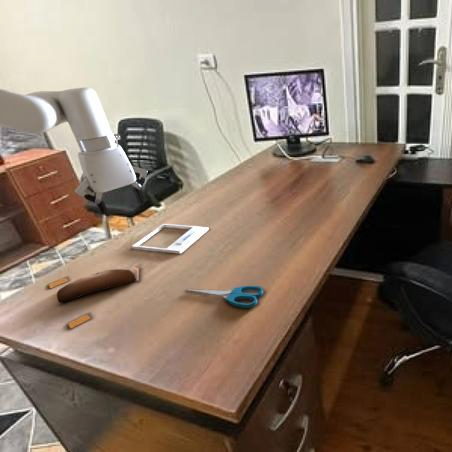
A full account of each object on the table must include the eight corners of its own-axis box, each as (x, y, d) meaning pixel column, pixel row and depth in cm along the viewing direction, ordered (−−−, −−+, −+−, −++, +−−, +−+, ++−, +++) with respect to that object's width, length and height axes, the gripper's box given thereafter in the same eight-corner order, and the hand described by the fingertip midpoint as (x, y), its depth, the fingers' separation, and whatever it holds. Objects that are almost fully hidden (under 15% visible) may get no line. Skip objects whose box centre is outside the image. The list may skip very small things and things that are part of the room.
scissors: (252, 305, 80) (178, 297, 85) (253, 308, 80) (179, 300, 86) (264, 286, 86) (194, 280, 91) (265, 290, 86) (195, 283, 91)
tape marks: (70, 328, 80) (70, 328, 80) (48, 285, 96) (48, 284, 96) (90, 319, 82) (89, 318, 82) (65, 278, 98) (65, 277, 98)
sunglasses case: (139, 265, 100) (131, 254, 94) (142, 287, 97) (134, 277, 91) (66, 285, 94) (53, 275, 88) (67, 309, 91) (54, 300, 85)
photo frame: (179, 250, 104) (131, 245, 109) (180, 253, 104) (132, 248, 110) (207, 226, 116) (163, 223, 121) (208, 229, 117) (164, 225, 122)
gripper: (129, 133, 91) (152, 194, 100) (51, 151, 81) (83, 217, 89) (140, 136, 86) (163, 200, 95) (58, 156, 76) (92, 226, 84)
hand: (124, 208), depth 92 cm, fingers open, 8 cm apart
